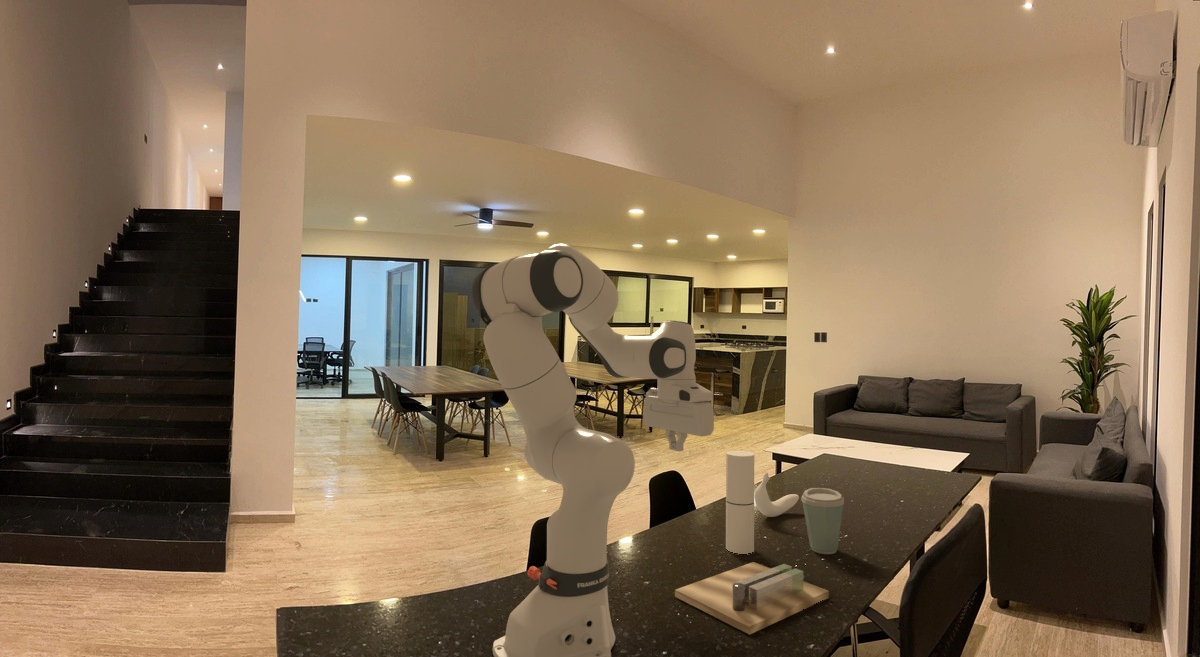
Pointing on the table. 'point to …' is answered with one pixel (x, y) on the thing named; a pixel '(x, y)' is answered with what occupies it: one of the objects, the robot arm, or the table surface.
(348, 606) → the table surface
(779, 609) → the cutting board
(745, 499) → the cylindrical container
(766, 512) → the banana
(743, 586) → the bar
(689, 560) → the table surface
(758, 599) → the bar
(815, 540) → the disposable coffee cup
